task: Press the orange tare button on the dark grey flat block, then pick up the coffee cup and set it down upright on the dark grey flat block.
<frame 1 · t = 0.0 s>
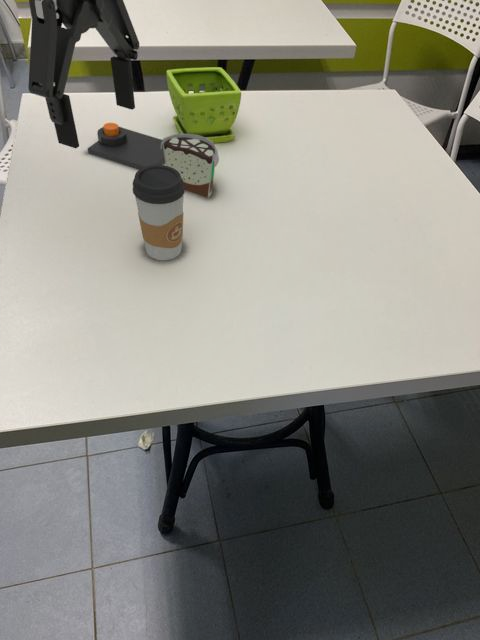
hand: (99, 124, 70), 24 cm above the table, tool pointing down, fingers open, 13 cm apart
food container: (196, 187, 104), on the table
dark grey flat block: (135, 153, 111), on the table
flower pot: (203, 136, 119), on the table
coffee cup: (164, 252, 90), on the table
tare button: (111, 129, 109), point 4 cm above the table, slide at 0.1 cm
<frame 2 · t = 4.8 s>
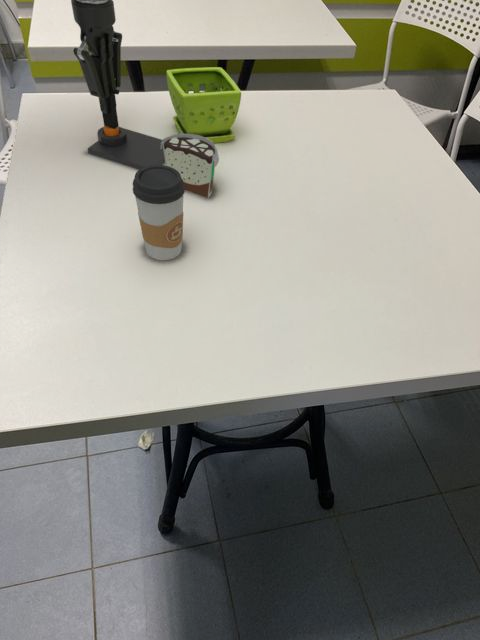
hand: (111, 125, 108), 5 cm above the table, tool pointing down, fingers closed
tare button: (111, 130, 109), point 4 cm above the table, slide at 0.0 cm, touching gripper
everything else where it was.
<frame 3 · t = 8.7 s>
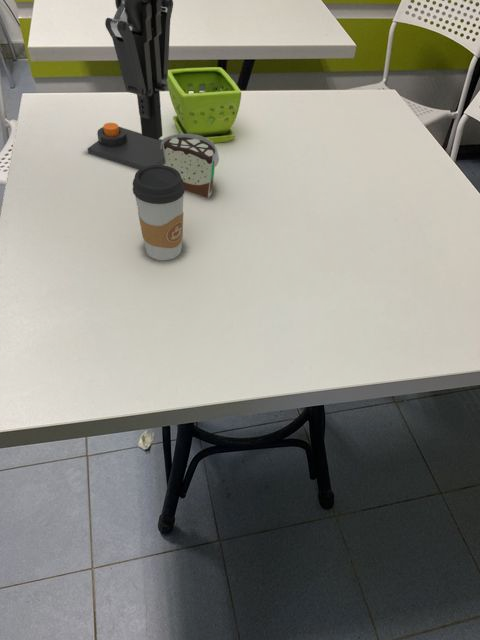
hand: (152, 135, 75), 21 cm above the table, tool pointing down, fingers closed
tare button: (111, 129, 109), point 4 cm above the table, slide at 0.1 cm
everything else where it was.
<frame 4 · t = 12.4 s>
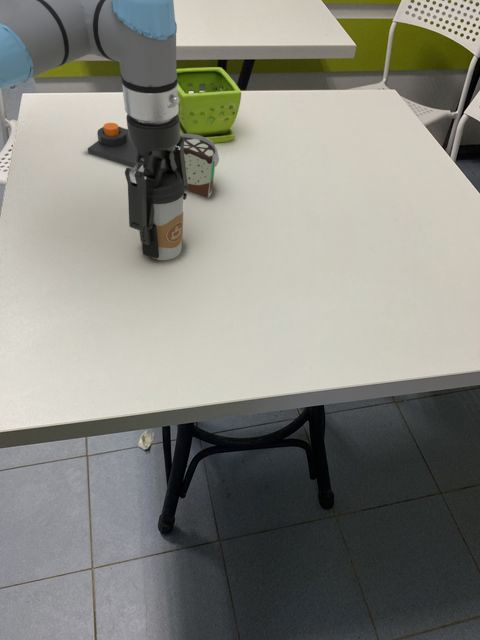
hand: (163, 242, 88), 2 cm above the table, tool pointing down, fingers closed on coffee cup, 8 cm apart
coffee cup: (164, 252, 90), on the table, touching gripper
everything else where it was.
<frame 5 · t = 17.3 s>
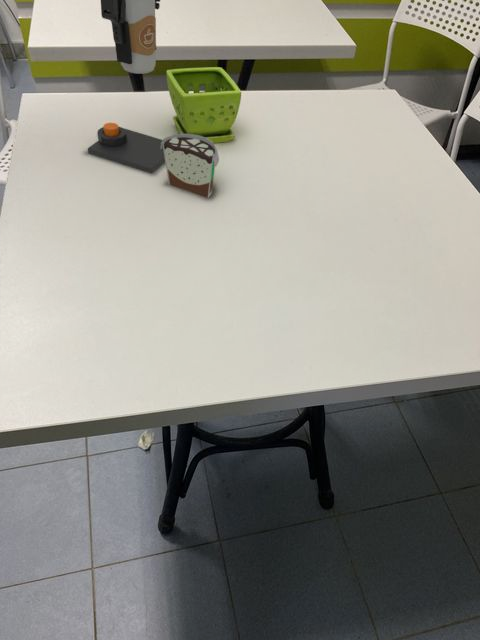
hand: (137, 54, 92), 22 cm above the table, tool pointing down, fingers closed on coffee cup, 8 cm apart
coffee cup: (138, 68, 93), point 20 cm above the table, touching gripper
everything else where it was.
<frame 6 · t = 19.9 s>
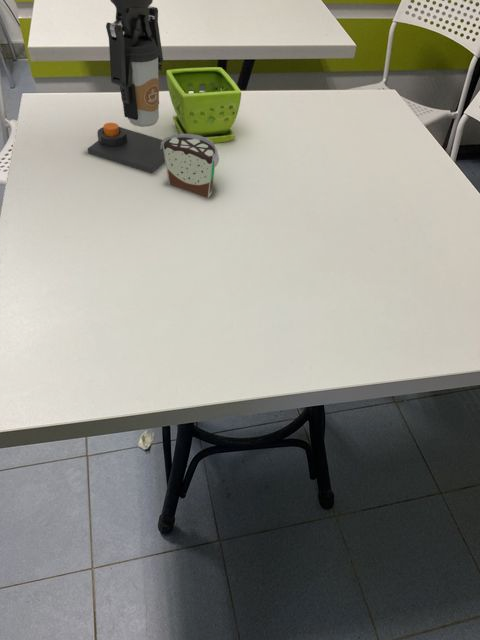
hand: (142, 109, 102), 10 cm above the table, tool pointing down, fingers closed on coffee cup, 8 cm apart
coffee cup: (143, 121, 104), point 8 cm above the table, touching gripper
everything else where it was.
when the fingers open (4 cm above the table, at t = 22.1 s): coffee cup stays where it is, resting on dark grey flat block.
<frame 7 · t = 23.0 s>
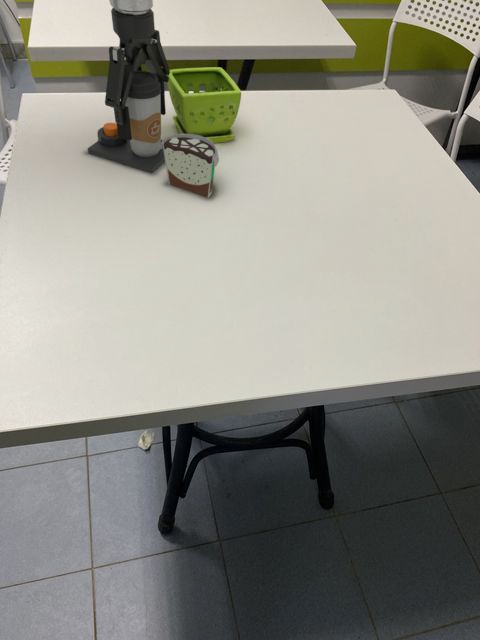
hand: (143, 125, 105), 7 cm above the table, tool pointing down, fingers open, 13 cm apart
coffee cup: (146, 151, 109), point 2 cm above the table, touching dark grey flat block
everything else where it was.
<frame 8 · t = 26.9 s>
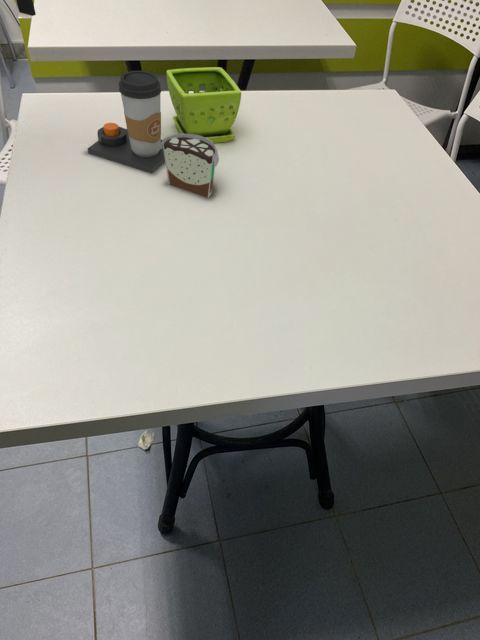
nothing on the table moved.
at the end: tare button pushed in 1.0 cm at the most during the clip, back to where it started at the end; coffee cup inside the target area on the dark grey flat block (0.1 cm from its centre), point 1.5 cm above the dark grey flat block's base; coffee cup touching dark grey flat block; coffee cup tilted 0° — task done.
